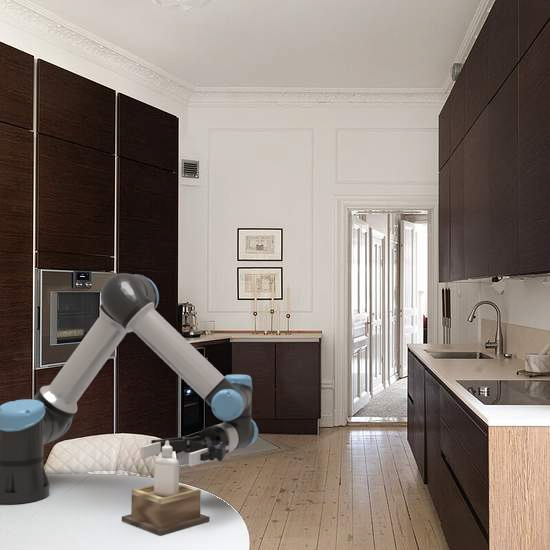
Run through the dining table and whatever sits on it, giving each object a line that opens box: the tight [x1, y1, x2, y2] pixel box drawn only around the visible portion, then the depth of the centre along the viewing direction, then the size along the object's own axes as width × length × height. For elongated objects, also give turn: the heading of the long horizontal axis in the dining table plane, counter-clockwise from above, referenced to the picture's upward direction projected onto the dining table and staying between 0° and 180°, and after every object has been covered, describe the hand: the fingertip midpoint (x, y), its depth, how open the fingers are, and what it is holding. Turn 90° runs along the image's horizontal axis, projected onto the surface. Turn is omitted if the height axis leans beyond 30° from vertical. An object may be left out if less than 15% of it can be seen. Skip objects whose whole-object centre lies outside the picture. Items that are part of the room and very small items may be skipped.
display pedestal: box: [121, 483, 210, 537], centre depth 157 cm, size 14×14×7 cm
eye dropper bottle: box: [153, 441, 180, 496], centre depth 158 cm, size 4×6×12 cm
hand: (165, 456), depth 157 cm, fingers open, 13 cm apart
